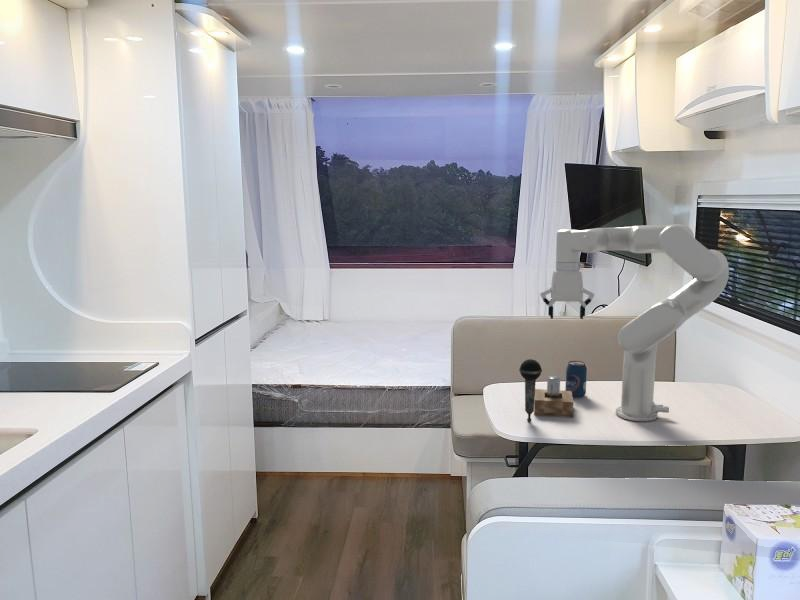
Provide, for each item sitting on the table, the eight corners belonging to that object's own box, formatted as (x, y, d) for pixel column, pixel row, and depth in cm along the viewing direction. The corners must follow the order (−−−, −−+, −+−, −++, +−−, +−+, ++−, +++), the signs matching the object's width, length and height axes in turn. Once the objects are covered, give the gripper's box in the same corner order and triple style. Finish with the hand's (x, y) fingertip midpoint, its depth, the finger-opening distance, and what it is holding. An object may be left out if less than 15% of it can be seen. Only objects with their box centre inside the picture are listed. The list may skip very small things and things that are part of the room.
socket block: (570, 405, 213) (571, 391, 213) (572, 417, 202) (573, 402, 201) (534, 403, 216) (534, 389, 215) (534, 414, 204) (534, 400, 204)
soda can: (561, 396, 223) (562, 363, 221) (570, 391, 228) (571, 359, 227) (580, 400, 219) (581, 366, 217) (588, 395, 224) (590, 362, 222)
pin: (558, 405, 210) (559, 376, 209) (559, 409, 206) (560, 379, 205) (546, 404, 211) (547, 375, 210) (546, 408, 207) (547, 379, 206)
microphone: (540, 418, 201) (542, 357, 198) (540, 426, 194) (542, 363, 191) (518, 417, 202) (519, 356, 199) (517, 424, 196) (519, 361, 192)
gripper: (593, 265, 211) (591, 316, 214) (540, 265, 214) (539, 315, 217) (596, 268, 204) (594, 320, 206) (541, 268, 207) (540, 319, 209)
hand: (566, 318), depth 212 cm, fingers open, 9 cm apart
